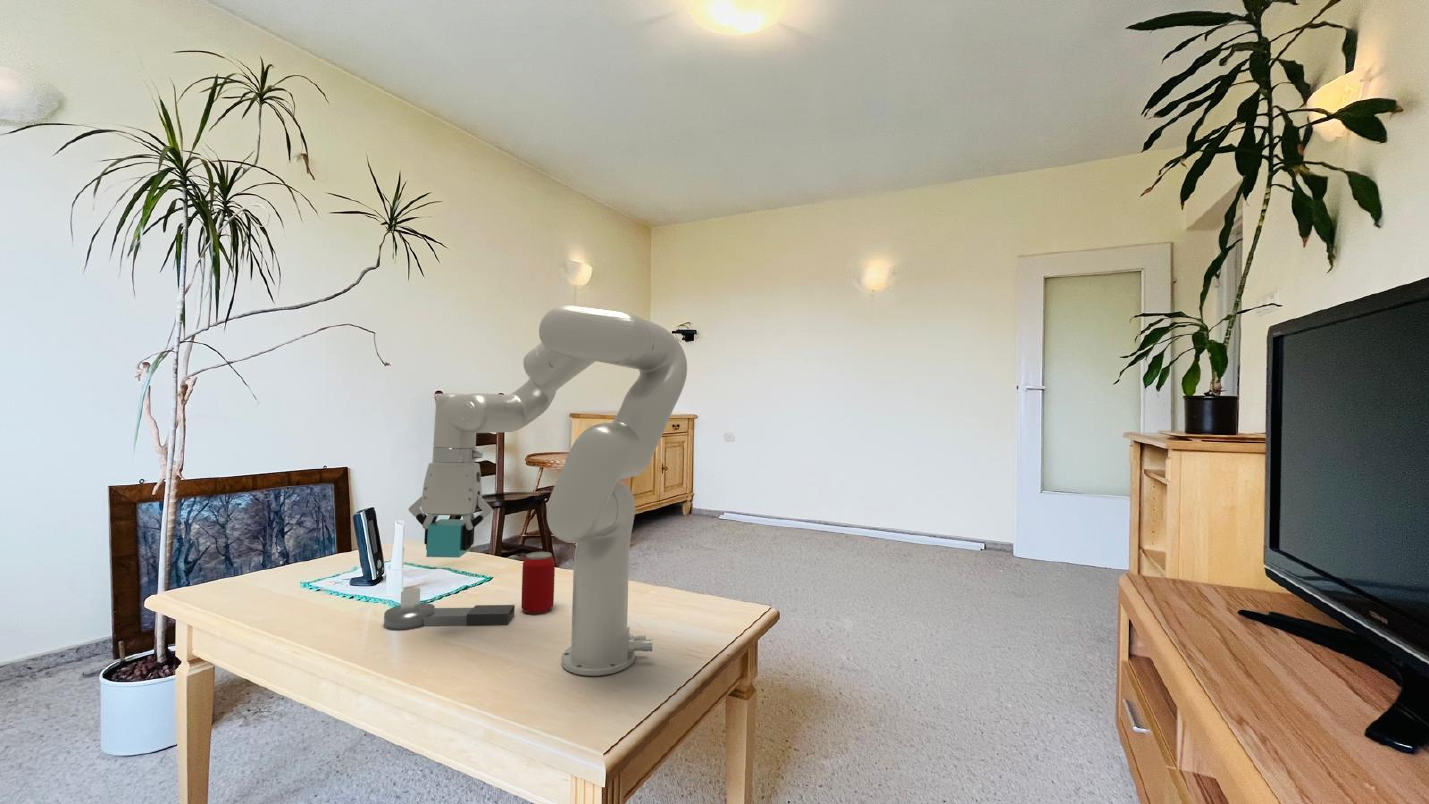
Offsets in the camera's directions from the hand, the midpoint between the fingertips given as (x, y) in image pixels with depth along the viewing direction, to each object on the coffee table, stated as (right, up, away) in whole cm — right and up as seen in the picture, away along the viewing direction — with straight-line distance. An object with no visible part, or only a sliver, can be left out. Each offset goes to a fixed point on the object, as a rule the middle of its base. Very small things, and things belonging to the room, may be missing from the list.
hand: (448, 547), depth 107 cm
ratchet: (-3, -17, +5) cm, 18 cm away
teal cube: (0, -1, 0) cm, 1 cm away
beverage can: (+13, -17, +13) cm, 25 cm away
